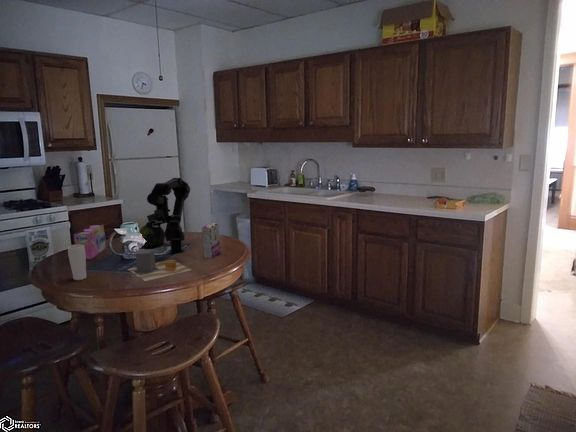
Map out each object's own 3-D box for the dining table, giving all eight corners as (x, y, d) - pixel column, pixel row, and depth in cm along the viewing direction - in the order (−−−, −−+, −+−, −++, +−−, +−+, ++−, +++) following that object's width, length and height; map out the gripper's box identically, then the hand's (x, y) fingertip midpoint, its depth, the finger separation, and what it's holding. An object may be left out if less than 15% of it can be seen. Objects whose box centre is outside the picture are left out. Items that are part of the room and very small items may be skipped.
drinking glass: (75, 276, 191) (71, 244, 188) (90, 275, 192) (86, 243, 189) (69, 281, 185) (64, 248, 182) (85, 280, 185) (80, 247, 182)
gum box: (93, 247, 241) (90, 224, 238) (107, 246, 241) (105, 223, 239) (76, 259, 217) (73, 234, 215) (92, 259, 218) (89, 233, 215)
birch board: (127, 270, 198) (127, 268, 198) (171, 260, 212) (171, 259, 212) (145, 282, 182) (145, 280, 182) (191, 270, 195) (191, 269, 195)
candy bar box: (211, 252, 224) (209, 222, 221) (220, 252, 223) (218, 222, 220) (203, 258, 214) (201, 227, 210) (212, 259, 213) (210, 227, 209)
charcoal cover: (141, 268, 199) (139, 249, 197) (155, 267, 199) (153, 249, 197) (136, 272, 193) (135, 253, 191) (151, 272, 193) (149, 253, 191)
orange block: (167, 268, 198) (167, 260, 197) (176, 268, 198) (175, 259, 197) (165, 271, 194) (165, 262, 193) (174, 270, 194) (173, 262, 194)
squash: (129, 237, 239) (139, 219, 232) (150, 232, 252) (160, 215, 245) (142, 256, 235) (153, 238, 228) (163, 250, 248) (174, 233, 241)
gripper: (136, 210, 207) (138, 241, 204) (163, 201, 198) (165, 234, 195) (154, 212, 216) (156, 242, 214) (180, 204, 207) (183, 235, 205)
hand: (164, 239), depth 206 cm, fingers open, 9 cm apart
